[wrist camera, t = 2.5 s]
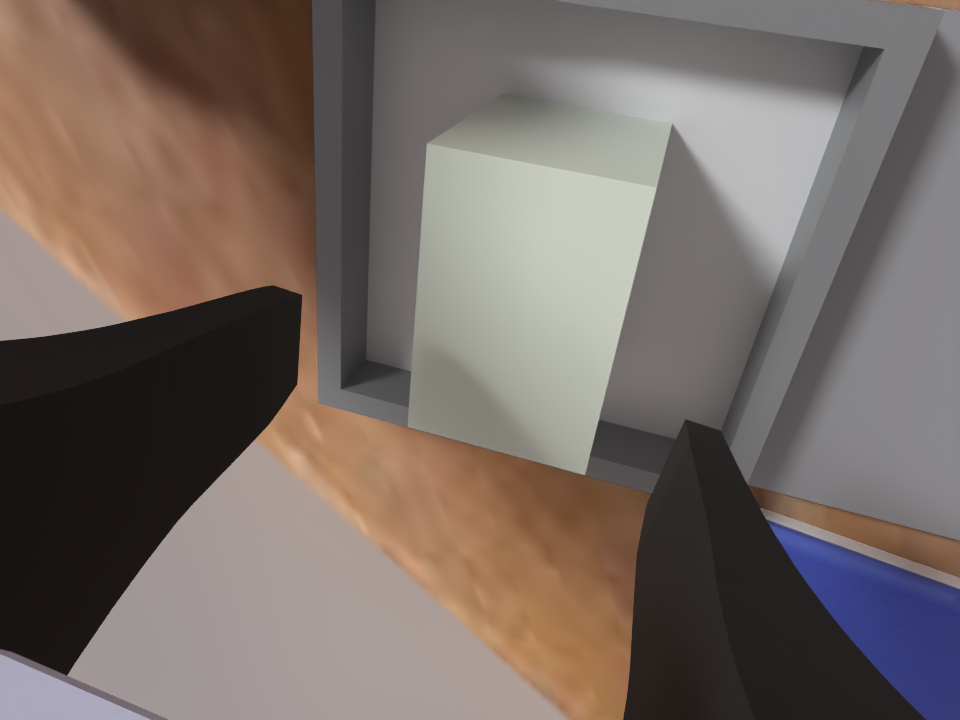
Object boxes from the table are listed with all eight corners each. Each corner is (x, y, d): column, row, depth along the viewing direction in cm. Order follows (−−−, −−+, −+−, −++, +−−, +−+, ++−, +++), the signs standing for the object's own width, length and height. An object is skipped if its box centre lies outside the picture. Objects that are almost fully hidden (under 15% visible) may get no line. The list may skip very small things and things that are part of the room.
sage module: (475, 322, 22) (407, 427, 17) (503, 93, 19) (426, 143, 14) (614, 354, 21) (584, 475, 16) (672, 123, 18) (657, 187, 13)
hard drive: (1134, 662, 21) (731, 515, 23) (973, 791, 25) (646, 661, 27) (1109, 620, 22) (730, 485, 24) (961, 750, 27) (649, 629, 28)
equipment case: (350, 366, 25) (318, 403, 23) (356, -72, 18) (310, -75, 16) (1206, 588, 20) (1262, 660, 18) (1681, 107, 13) (1865, 135, 11)
